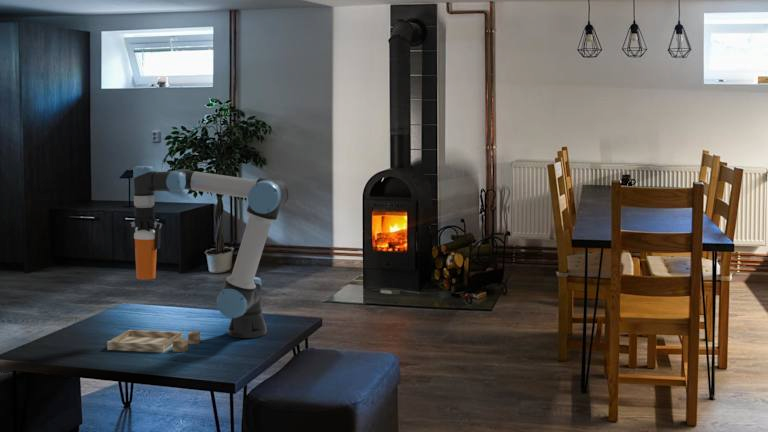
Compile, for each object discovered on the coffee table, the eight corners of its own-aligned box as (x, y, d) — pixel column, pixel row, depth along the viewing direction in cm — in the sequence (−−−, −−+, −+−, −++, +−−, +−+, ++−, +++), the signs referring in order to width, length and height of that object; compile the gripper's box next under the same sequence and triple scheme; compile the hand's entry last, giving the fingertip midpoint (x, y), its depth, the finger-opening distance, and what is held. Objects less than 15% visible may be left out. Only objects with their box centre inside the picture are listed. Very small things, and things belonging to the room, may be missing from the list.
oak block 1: (188, 349, 315) (187, 339, 315) (182, 352, 311) (182, 341, 311) (178, 348, 316) (178, 338, 316) (172, 351, 313) (172, 340, 312)
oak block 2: (200, 341, 327) (199, 331, 326) (198, 344, 323) (198, 333, 322) (189, 341, 326) (189, 331, 326) (188, 344, 322) (188, 334, 322)
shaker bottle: (151, 280, 322) (150, 228, 320) (129, 279, 324) (129, 227, 322) (162, 276, 331) (161, 226, 328) (141, 275, 333) (140, 224, 330)
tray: (182, 339, 328) (182, 332, 328) (163, 352, 311) (163, 344, 310) (129, 337, 332) (128, 329, 331) (107, 349, 314) (107, 341, 314)
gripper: (169, 205, 326) (170, 265, 329) (129, 204, 329) (131, 264, 332) (160, 207, 319) (162, 269, 321) (119, 206, 322) (121, 267, 325)
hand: (146, 266), depth 327 cm, fingers open, 4 cm apart
